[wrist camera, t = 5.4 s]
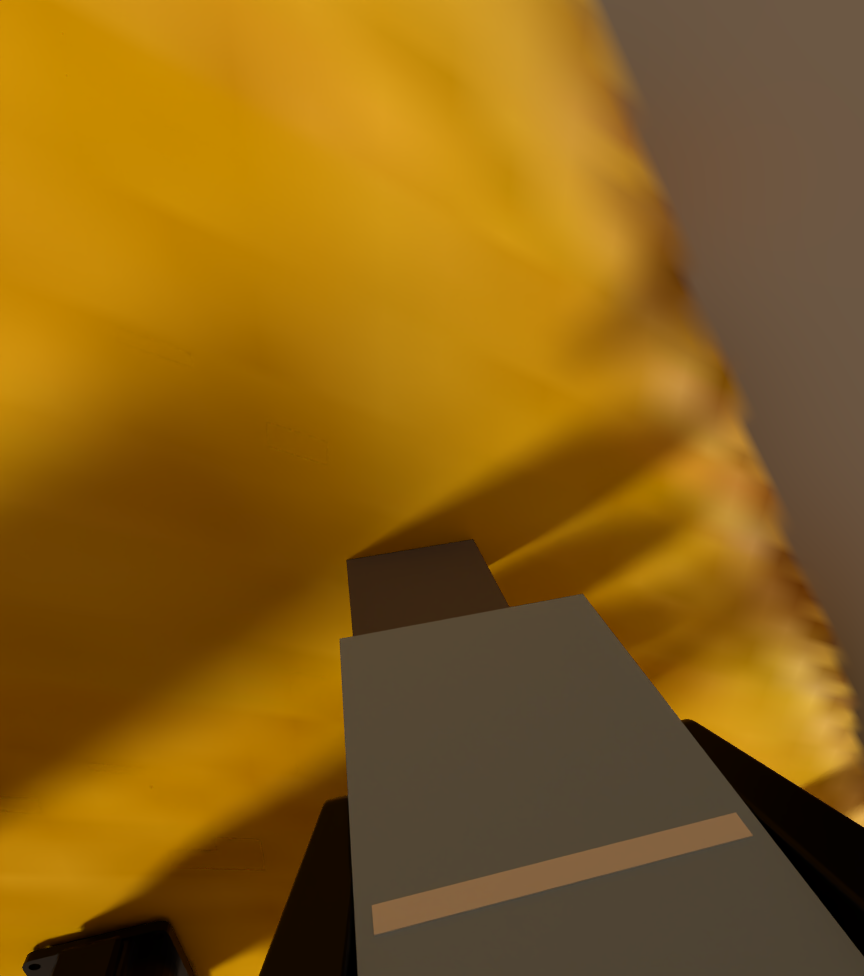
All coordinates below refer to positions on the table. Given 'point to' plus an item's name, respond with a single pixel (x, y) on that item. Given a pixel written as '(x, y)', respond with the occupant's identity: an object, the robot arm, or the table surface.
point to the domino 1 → (420, 587)
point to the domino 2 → (553, 815)
